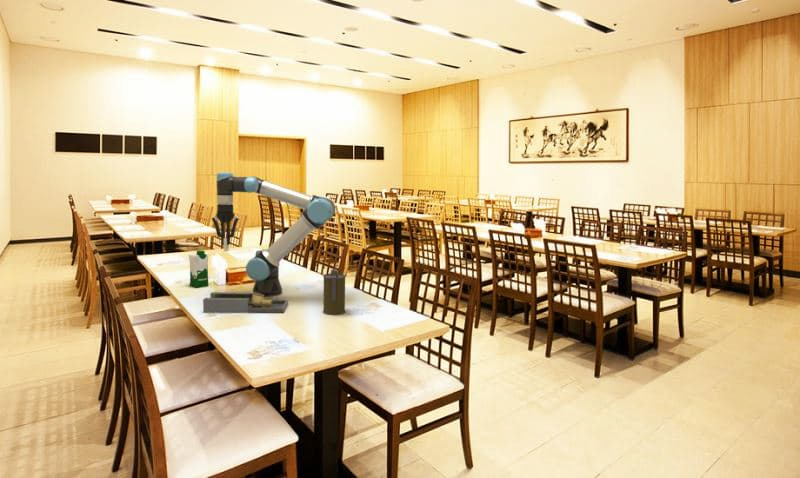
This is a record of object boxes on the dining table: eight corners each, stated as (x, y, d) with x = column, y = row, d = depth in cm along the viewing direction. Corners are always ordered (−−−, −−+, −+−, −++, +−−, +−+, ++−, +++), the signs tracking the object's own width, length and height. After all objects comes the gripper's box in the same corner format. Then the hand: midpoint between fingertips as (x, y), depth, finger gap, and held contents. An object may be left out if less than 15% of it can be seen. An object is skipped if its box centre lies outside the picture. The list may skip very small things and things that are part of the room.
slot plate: (254, 304, 244) (254, 292, 243) (248, 312, 230) (248, 299, 229) (212, 304, 242) (212, 292, 241) (203, 312, 228) (203, 299, 227)
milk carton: (196, 288, 272) (195, 252, 269) (187, 286, 277) (186, 250, 274) (211, 286, 279) (210, 250, 276) (201, 283, 284) (200, 248, 281)
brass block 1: (261, 303, 239) (264, 294, 238) (259, 306, 234) (262, 297, 234) (252, 301, 239) (255, 292, 238) (250, 303, 234) (252, 294, 234)
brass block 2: (263, 306, 239) (273, 306, 239) (261, 309, 234) (271, 309, 235) (263, 297, 238) (273, 297, 239) (261, 299, 234) (271, 299, 234)
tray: (288, 304, 245) (288, 300, 245) (283, 313, 230) (283, 308, 230) (254, 304, 244) (254, 299, 244) (247, 312, 229) (247, 308, 229)
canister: (323, 308, 240) (323, 267, 237) (345, 308, 241) (346, 268, 238) (322, 315, 229) (322, 272, 226) (344, 315, 230) (345, 272, 227)
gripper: (240, 203, 251) (241, 250, 254) (213, 203, 250) (214, 249, 253) (236, 204, 244) (237, 252, 247) (209, 204, 242) (210, 252, 246)
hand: (226, 251), depth 250 cm, fingers closed
